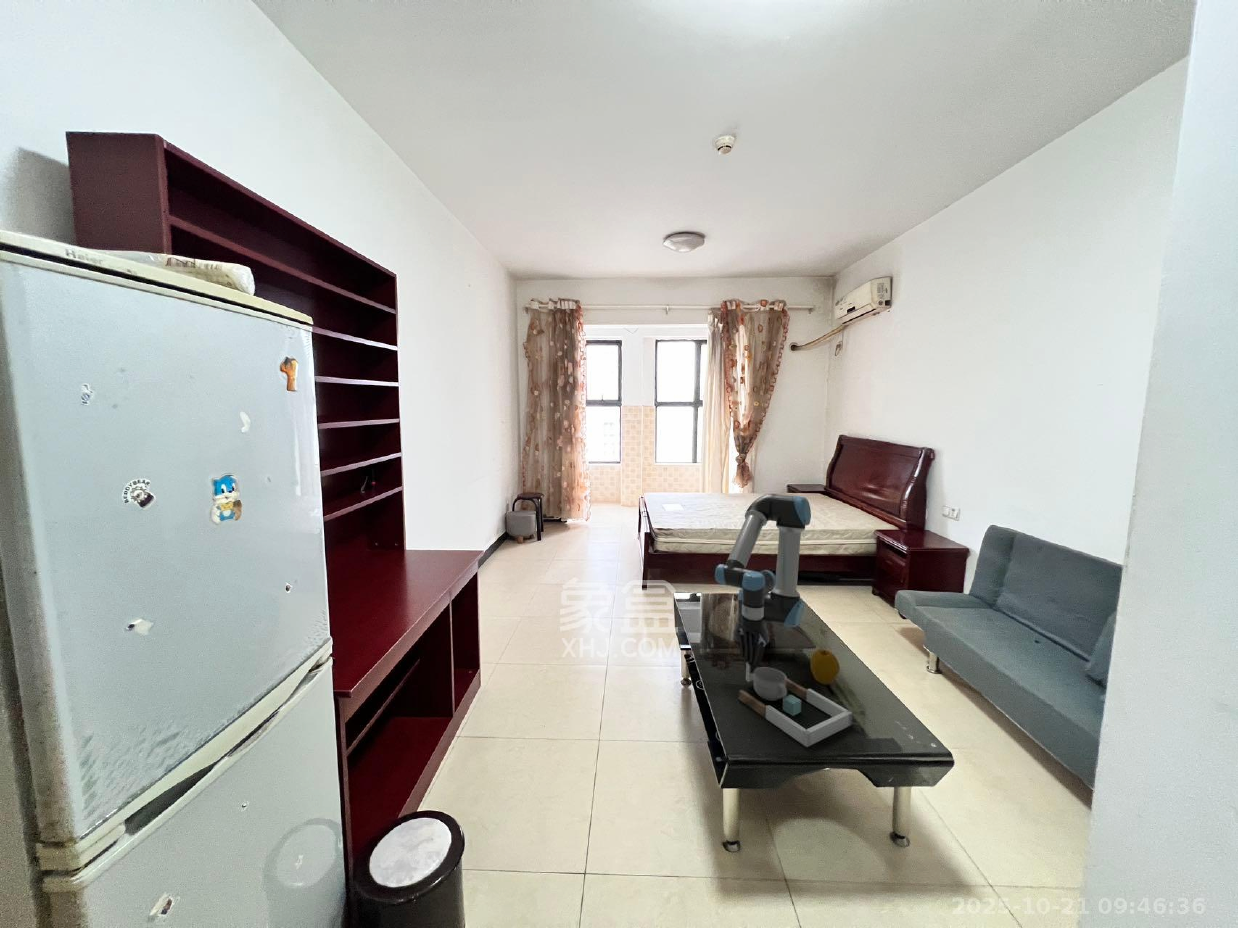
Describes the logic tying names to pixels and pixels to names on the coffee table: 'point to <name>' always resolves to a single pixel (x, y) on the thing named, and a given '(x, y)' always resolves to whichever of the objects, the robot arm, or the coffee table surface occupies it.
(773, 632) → the coffee table surface
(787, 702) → the block
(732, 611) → the coffee table surface
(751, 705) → the slot rails
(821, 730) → the grey u-shaped frame
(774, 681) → the teacup
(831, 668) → the apple
